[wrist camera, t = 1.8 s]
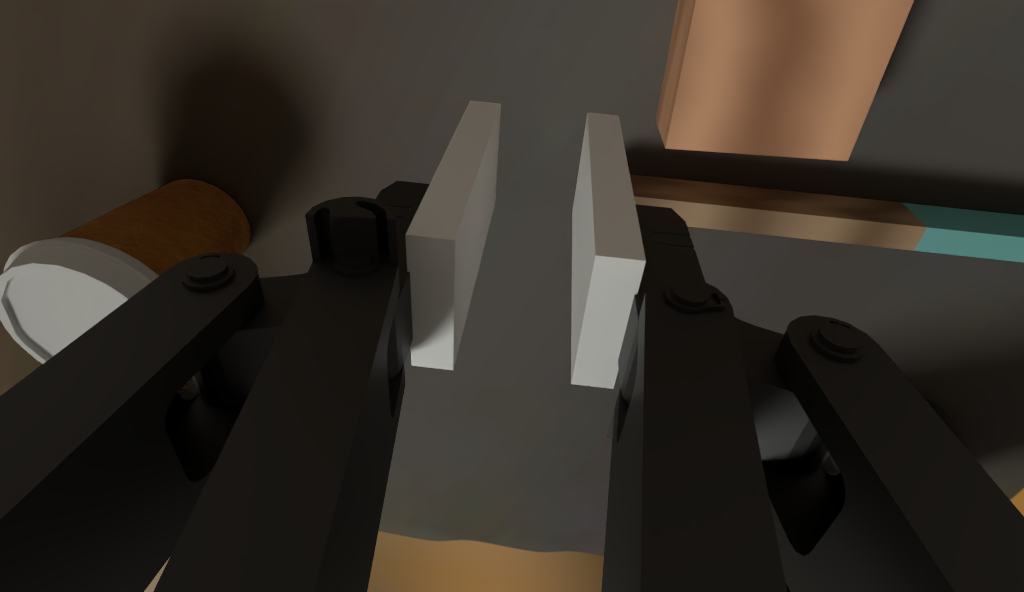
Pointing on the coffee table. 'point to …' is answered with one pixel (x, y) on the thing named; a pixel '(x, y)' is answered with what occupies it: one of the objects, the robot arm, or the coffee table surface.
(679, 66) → the wooden block
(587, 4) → the coffee table surface
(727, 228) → the lane walls
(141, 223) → the disposable coffee cup
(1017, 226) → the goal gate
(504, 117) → the coffee table surface
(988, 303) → the coffee table surface
